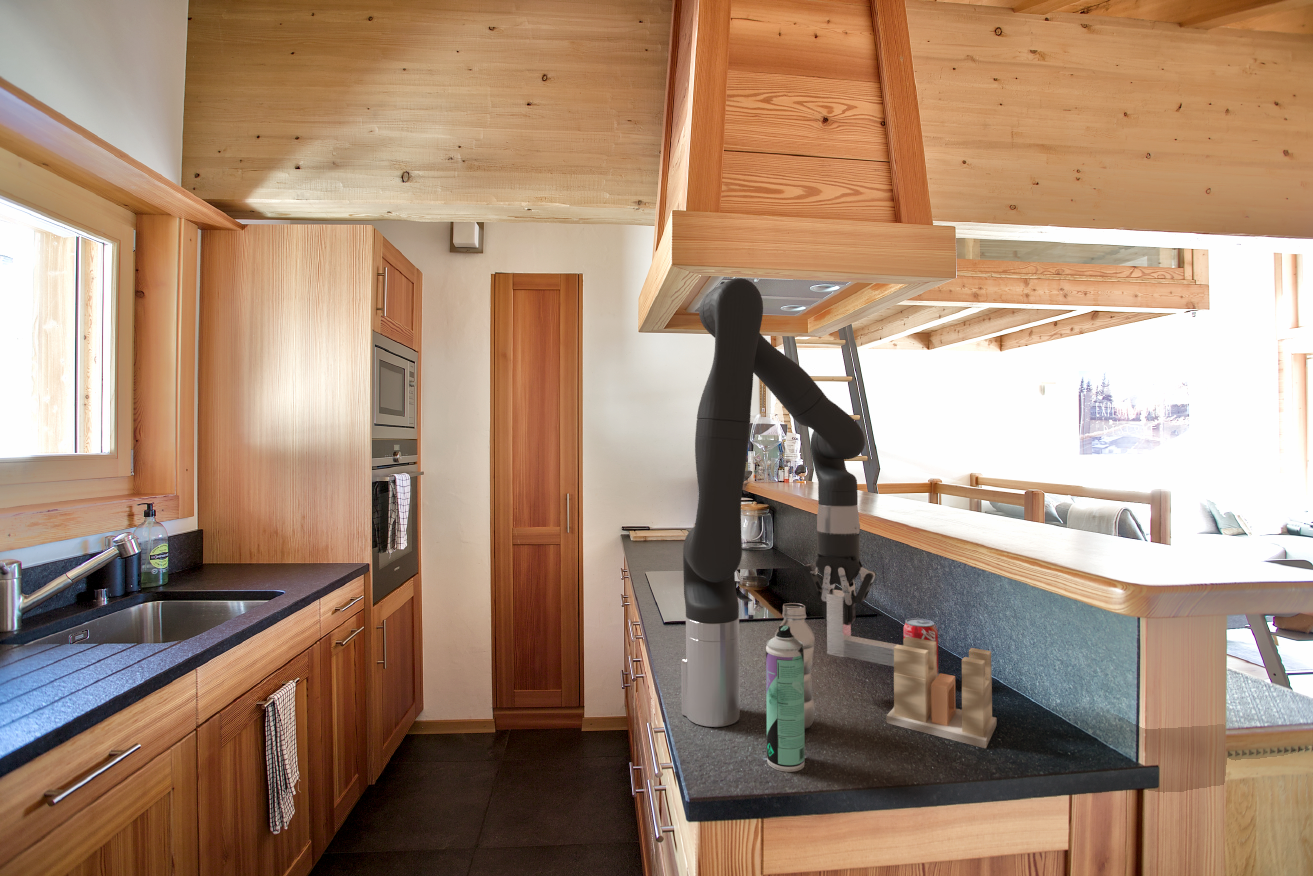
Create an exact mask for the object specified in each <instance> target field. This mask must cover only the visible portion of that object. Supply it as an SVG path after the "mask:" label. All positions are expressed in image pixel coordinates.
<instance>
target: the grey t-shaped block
mask: <svg viewBox="0 0 1313 876" xmlns="http://www.w3.org/2000/svg"><path fill="white" fill-rule="evenodd" d="M845 604H846V602H845V597H844V593H843V591H842V590H839V589H834V590H833V591H831V592H830V593H828V594H827V621H826V645H827V646H826V654H827V655H830V656H836V657H840V658H844V657H845V658H849V659H850V658H851V659H855V660H859V661H865V662H869V663H873V664H879V665H883V666H884V665H885V666H889V667H893V668H894V647H895V646H896V645H899V644H897V643H890V642H887V641H886V642H885V641H881V640H876V639H875V640H874V639H869V638H864V637H858V636H854V635H853V636H852V635H851V634H852V630H851V629H852V628H851V627H852V624H850V625H845V607H844V605H845ZM901 645H902V646H903V644H901ZM907 647H909V646H907ZM913 648H914V647H913ZM918 649H920V648H918Z"/></svg>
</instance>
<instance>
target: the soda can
mask: <svg viewBox="0 0 1313 876" xmlns="http://www.w3.org/2000/svg"><path fill="white" fill-rule="evenodd" d="M902 630H903V631H902V632H903V639H904V638H905V637H912V638H918V639H924V640H930V641H935V642H936V652H937V676H938V675H939V631H938V628H937V625H936V624H935V622H933V621H932V620H930V619H925V618H919V617H918V618H915V617H914V618H913V617H912V618H908V619H905V623H904V626H903V629H902Z"/></svg>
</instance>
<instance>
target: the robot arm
mask: <svg viewBox="0 0 1313 876" xmlns="http://www.w3.org/2000/svg"><path fill="white" fill-rule="evenodd" d="M698 310H699V311H698V313H699V314H698V315H699V320H700V323H701V325H702V327H703V328H704V329H705V330H706V331H707V332H708V333H709V334H710V335H711V336H712V337H713V338H714V351H713V352H714V354H713V361H712V363H711V364H712V365H711V368H710V371H709V373H708V377H707V380H706V383H705V386H704V388H703V390H702V391H703V392H702V394H701V397H700V401H699V405H698V408H697V415H696V425H695V438H694V439H695V440H694V457H695V469H696V470H695V471H696V477H697V480H696V481H697V486H698V487H697V488H698V489H697V490H698V491H697V492H698V499H697V509H696V518H695V524H694V527H692V528H691V529H690V530H689V531H688V533H687V534H686V535H685V539H684V541H683V548H682V550H683V554H682V561H683V567H682V568H683V569H682V570H683V572H682V573H683V597H684V603H685V604H684V606H685V657H683V658H682V659H681V663H680V665H681V668H680V671H681V677H680V678H681V686H680V687H681V715H682V716H685V717H687V719H688V720H689V721H690V722H692V723H694V724H696V725H700V726H704V727H709V728H710V727H711V728H712V727H714V728H719V727H726V726H730V725H733V724H735V723H736V722H738V721H739V719H740V717H741V716H740V710H741V704H740V702H741V701H740V695H741V694H740V610H739V609H740V606H739V605H740V604H739V600H738V599H739V598H738V595H737V590H736V577H735V576H736V574H735V573H736V572H737V570H738V569H739V567H740V564H741V561H742V557H743V556H742V555H743V543H742V540H743V539H742V497H743V496H742V495H743V490H744V489H743V488H744V481H745V476H746V469H747V461H748V459H747V457H748V453H749V452H748V451H749V441H750V431H751V430H750V429H751V417H752V416H751V411H752V399H753V398H752V397H753V387H754V386H753V385H754V375H755V376H756V377H757V378H758V379H759V380H760V381H761V383H763V384H764V385H765V386H766V388H768V390H769V391H770V392H771V394H773V396H774V397H775V398H776V399H777V400H778V401H779V403H780V404H781V406H783V408H784V409H785V410H786V411H787V412H788V414H789V415H790V416H791V417H792V418H793V420H795V421H796V422H797V424H799V425H801V426H804V427H808V428H809V429H812V430H813V432H812V434H811V437H810V445H809V446H810V453H811V459H812V463H813V467H814V472H815V475H816V478H817V483H818V484H817V485H818V486H817V488H818V489H817V490H818V493H817V494H818V496H817V499H818V501H817V502H818V504H817V506H818V507H817V514H816V526H817V527H816V535H817V536H816V539H817V540H816V541H817V543H816V544H817V546H816V548H817V550H816V551H817V558H816V559H815V562H814V563H808V564H805V565H803V566H802V572H803V575H804V577H805V579H806V581H807V584H808V587H809V589H810V592H811V594H812V596H813V597H817V598H819V599H820V600H821V602H822V605H821V606H822V616H823V617H822V618H823V619H825V622H827V594H828V593H830V592H831V591H833V590H835V587H836V584H837V585H839V586H841V591H843V593H844V597H845V602H846V604H845V605H844V607H845V625H850V624H851V625H852V624H853V622H855V620H856V604H861V603H862V602H864V601H865V600H867V597H868V596H869V593H870V591H871V589H872V586H873V583H874V581H876V578H877V572H876V571H874V570H872V571H870V570H868V569H867V568H864V567H863V564H862V562H861V559H860V555H861V554H860V552H861V551H860V549H861V548H860V547H861V546H860V530H861V523H860V514H859V506H858V504H859V503H858V502H859V501H858V498H859V496H858V493H859V492H858V480H857V477H856V476H855V475H854V474H853V473H851V472H849V471H848V470H847V468H846V467H847V466H846V462H845V460H852V459H855V458H857V457H858V456H860V455H861V453H862V452H863V451H864V449H865V444H866V443H865V442H866V439H865V434H864V431H863V430H862V428H861V426H860V425H859V423H858V422H857V421H856V420H855V419H854V418H853V417H852V416H851V415H849V414H848V413H847V412H846V411H844V409H842V408H841V407H840V406H838V405H837V404H836V403H834V402H833V401H832V400H831V399H829V398H828V396H826V394H825V393H824V391H822V389H821V388H820V387H819V385H818V384H817V383H816V382H815V381H814V379H813V378H812V377H811V376H810V374H808V373H807V371H805V369H804V368H802V367H801V366H800V365H799V364H798V363H797V362H795V361H794V360H792V359H791V358H790V357H788V356H787V355H785V354H784V353H783V352H781V351H780V350H779V349H777V348H776V347H775V346H774V345H772V343H770V341H768V340H767V339H766V338H765V337H764V336H763V334H761V326H762V322H763V315H764V314H763V313H764V302H763V297H762V295H761V292H760V290H759V288H758V287H757V286H756V284H754V283H753V282H752V281H750V280H748V279H746V278H740V277H738V278H733V279H730V280H727V281H725V282H723V283H722V284H720V285H718V286H717V287H715V288H712V289H711V290H710V291H708V293H706V294H705V295H704V297H703V298H702V299H701V301H700V304H699V308H698ZM818 571H819V573H820V574H821V576H822V577H823V580H822V584H821V581H820V579H819V577H818ZM859 574H860V580H861V585H860V587H859V589H858V591H857V593H856V584H855V579H856V578H857V577H858V576H859Z"/></svg>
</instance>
